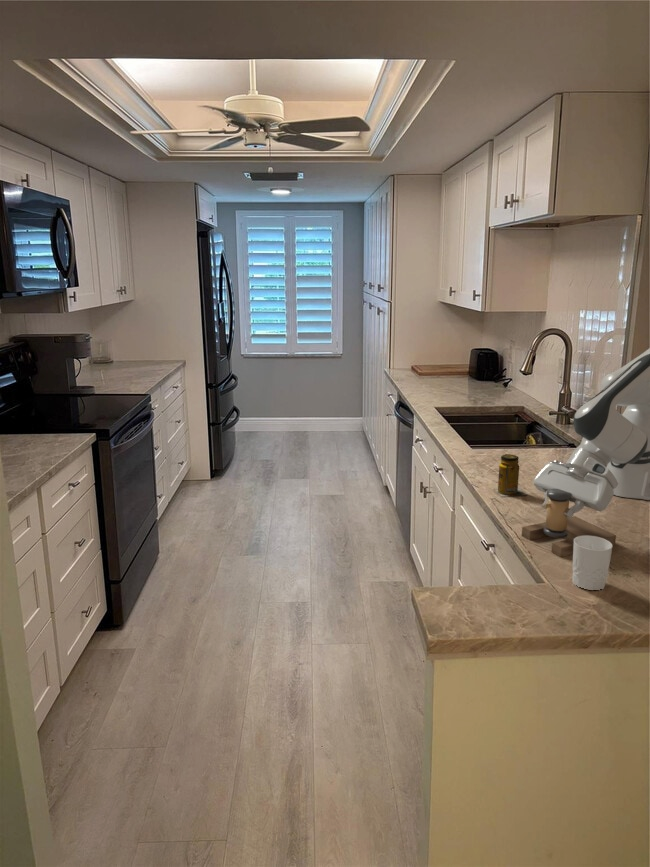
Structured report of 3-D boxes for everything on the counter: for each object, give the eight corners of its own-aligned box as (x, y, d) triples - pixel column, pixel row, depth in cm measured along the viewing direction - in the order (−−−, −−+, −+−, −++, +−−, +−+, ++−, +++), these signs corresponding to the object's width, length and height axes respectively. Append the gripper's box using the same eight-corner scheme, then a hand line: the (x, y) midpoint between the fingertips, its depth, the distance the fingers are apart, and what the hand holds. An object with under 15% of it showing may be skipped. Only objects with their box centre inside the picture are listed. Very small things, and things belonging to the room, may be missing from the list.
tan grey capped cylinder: (556, 527, 163) (559, 487, 161) (572, 535, 158) (576, 494, 155) (534, 531, 161) (538, 491, 158) (551, 540, 156) (554, 498, 153)
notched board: (574, 524, 172) (574, 516, 171) (615, 544, 159) (616, 535, 159) (521, 535, 165) (522, 526, 164) (560, 557, 153) (561, 547, 152)
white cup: (615, 589, 137) (620, 547, 134) (585, 595, 135) (590, 552, 132) (591, 573, 144) (595, 533, 142) (562, 578, 142) (566, 537, 140)
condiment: (493, 489, 200) (495, 453, 197) (518, 488, 201) (521, 452, 198) (501, 497, 193) (504, 460, 190) (528, 496, 194) (530, 459, 191)
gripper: (545, 452, 167) (518, 493, 165) (615, 471, 151) (586, 518, 148) (555, 465, 171) (528, 506, 168) (624, 486, 154) (595, 531, 151)
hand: (555, 512), depth 158 cm, fingers closed on tan grey capped cylinder, 5 cm apart
